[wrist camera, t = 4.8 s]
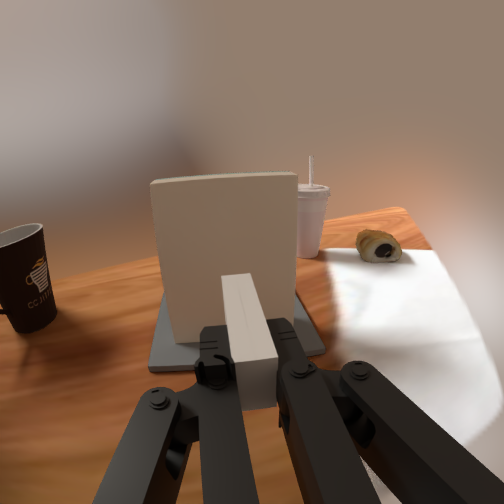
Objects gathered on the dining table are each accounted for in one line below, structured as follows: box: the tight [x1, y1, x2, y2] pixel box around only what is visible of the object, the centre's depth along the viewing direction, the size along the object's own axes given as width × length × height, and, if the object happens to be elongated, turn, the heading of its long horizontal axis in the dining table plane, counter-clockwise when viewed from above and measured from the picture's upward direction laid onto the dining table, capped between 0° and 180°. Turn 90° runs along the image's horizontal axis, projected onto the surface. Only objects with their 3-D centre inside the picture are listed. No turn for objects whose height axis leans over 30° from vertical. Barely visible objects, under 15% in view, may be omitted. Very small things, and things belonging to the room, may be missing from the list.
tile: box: [150, 171, 298, 343], centre depth 22 cm, size 10×2×13 cm, turn 99°
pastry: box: [356, 230, 402, 263], centre depth 42 cm, size 9×7×4 cm
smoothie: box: [297, 156, 330, 258], centre depth 39 cm, size 6×6×14 cm
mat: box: [148, 292, 326, 372], centre depth 30 cm, size 14×20×1 cm
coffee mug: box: [0, 223, 57, 333], centre depth 23 cm, size 12×9×10 cm
